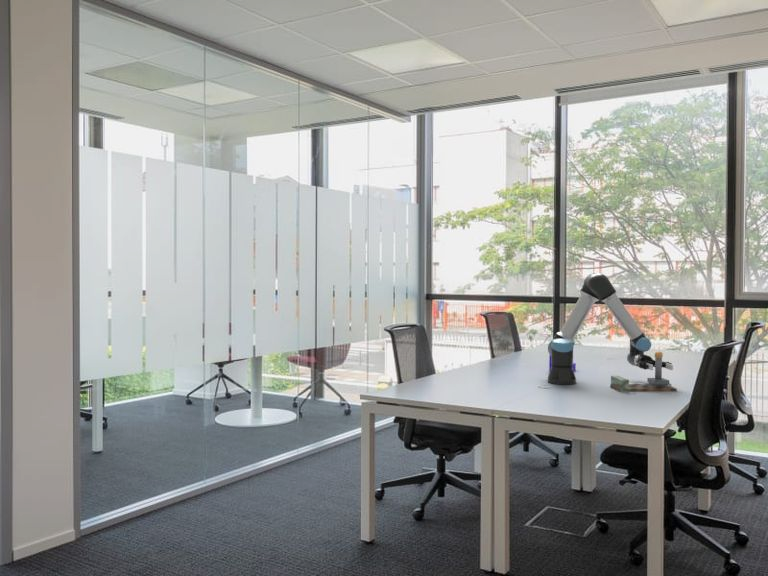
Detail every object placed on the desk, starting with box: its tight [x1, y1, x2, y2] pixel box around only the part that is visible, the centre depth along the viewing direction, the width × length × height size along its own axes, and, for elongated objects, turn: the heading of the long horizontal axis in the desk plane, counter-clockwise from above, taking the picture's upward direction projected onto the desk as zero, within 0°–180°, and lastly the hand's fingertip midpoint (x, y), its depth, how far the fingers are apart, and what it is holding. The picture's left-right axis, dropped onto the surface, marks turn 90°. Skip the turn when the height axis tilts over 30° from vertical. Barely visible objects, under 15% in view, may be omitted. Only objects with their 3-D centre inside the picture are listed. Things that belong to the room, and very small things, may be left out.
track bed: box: [609, 375, 678, 393], centre depth 354 cm, size 30×14×6 cm, turn 92°
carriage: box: [646, 350, 670, 386], centre depth 355 cm, size 8×8×18 cm
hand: (662, 367), depth 350 cm, fingers open, 10 cm apart
